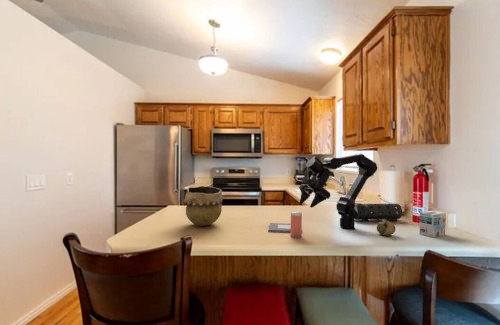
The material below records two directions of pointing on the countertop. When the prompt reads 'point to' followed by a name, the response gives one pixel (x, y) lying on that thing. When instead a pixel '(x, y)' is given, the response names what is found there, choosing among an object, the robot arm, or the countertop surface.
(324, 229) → the countertop surface
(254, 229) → the countertop surface
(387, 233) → the onion
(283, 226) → the mat
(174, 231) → the countertop surface
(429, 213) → the light bulb box
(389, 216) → the muzzle brake
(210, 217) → the clay pot
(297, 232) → the salt shaker
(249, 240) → the countertop surface
